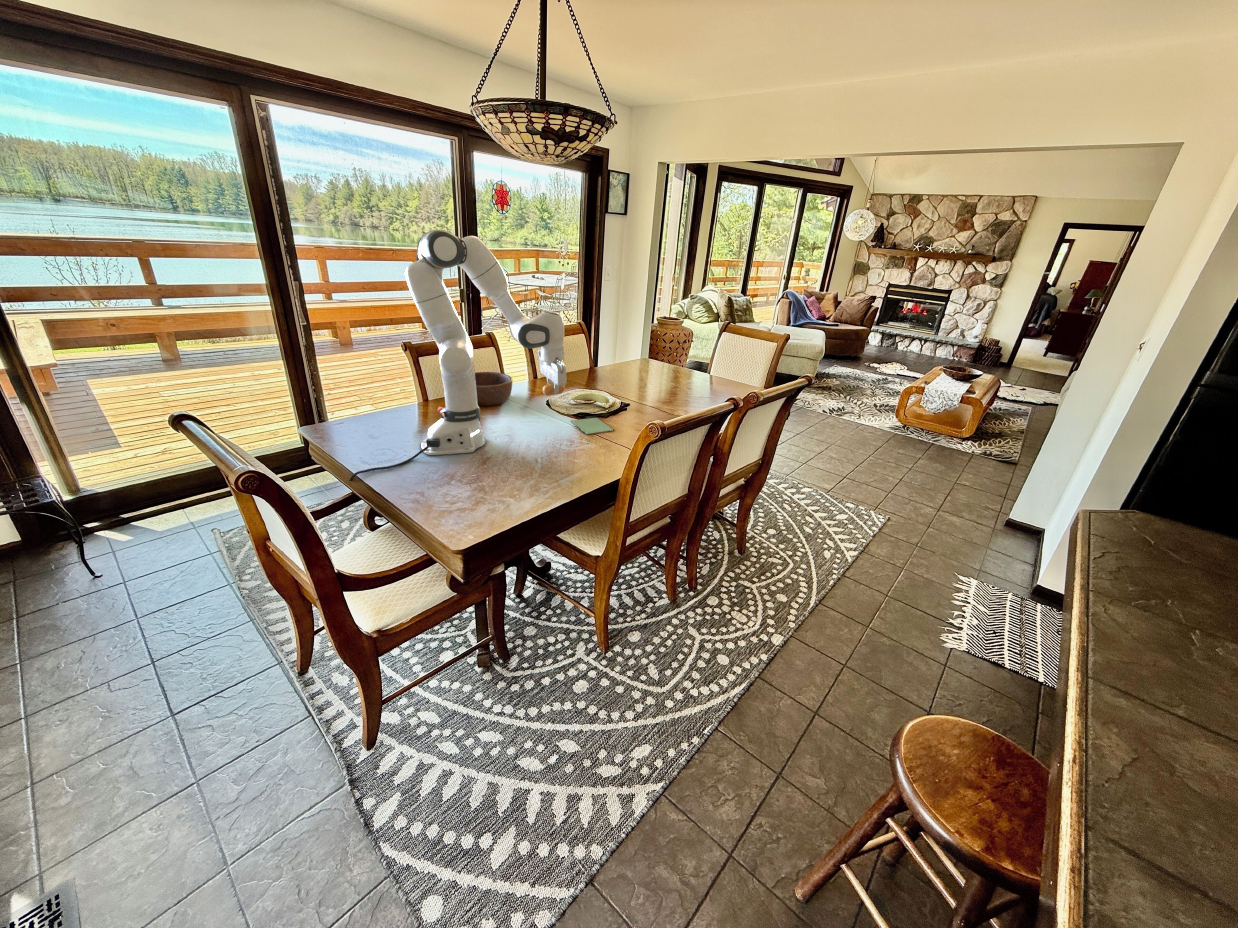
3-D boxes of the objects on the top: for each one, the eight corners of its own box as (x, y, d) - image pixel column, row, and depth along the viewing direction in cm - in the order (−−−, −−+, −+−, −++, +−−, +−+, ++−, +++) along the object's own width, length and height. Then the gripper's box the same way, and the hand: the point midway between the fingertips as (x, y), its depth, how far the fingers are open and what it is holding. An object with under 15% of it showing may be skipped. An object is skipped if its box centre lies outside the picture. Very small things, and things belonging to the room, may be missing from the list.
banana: (588, 385, 230) (617, 400, 218) (590, 394, 234) (617, 410, 222) (566, 396, 223) (594, 413, 212) (568, 406, 227) (595, 423, 215)
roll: (546, 397, 184) (546, 386, 182) (540, 395, 187) (540, 384, 185) (566, 394, 190) (566, 383, 188) (560, 391, 193) (560, 380, 191)
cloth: (586, 434, 193) (586, 433, 193) (571, 421, 206) (571, 420, 205) (613, 430, 198) (613, 430, 198) (597, 418, 211) (597, 417, 211)
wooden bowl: (463, 391, 235) (461, 371, 231) (515, 392, 238) (514, 372, 234) (453, 408, 213) (451, 386, 209) (510, 409, 216) (509, 387, 211)
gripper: (570, 361, 175) (570, 397, 181) (551, 349, 191) (552, 383, 197) (554, 362, 172) (554, 399, 178) (536, 350, 188) (537, 384, 194)
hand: (553, 390), depth 188 cm, fingers closed on roll, 5 cm apart
